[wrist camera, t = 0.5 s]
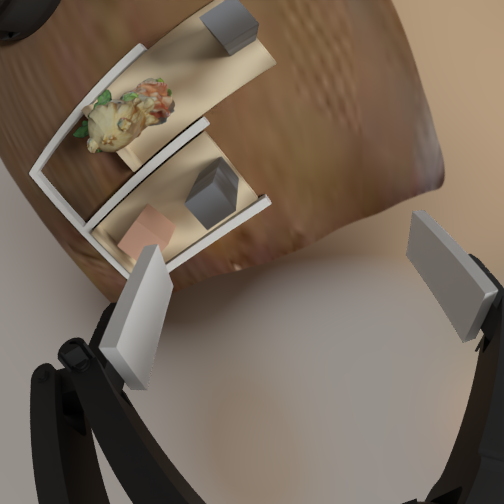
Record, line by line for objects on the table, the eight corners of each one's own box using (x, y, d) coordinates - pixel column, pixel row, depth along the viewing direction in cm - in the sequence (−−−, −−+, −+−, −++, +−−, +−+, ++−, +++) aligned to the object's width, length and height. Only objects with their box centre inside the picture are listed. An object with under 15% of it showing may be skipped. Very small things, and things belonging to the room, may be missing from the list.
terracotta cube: (129, 227, 40) (116, 246, 35) (148, 203, 38) (136, 219, 34) (156, 248, 42) (147, 268, 37) (176, 225, 40) (168, 244, 35)
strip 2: (95, 227, 40) (62, 268, 31) (205, 130, 34) (188, 149, 24) (144, 275, 45) (123, 324, 36) (257, 196, 39) (261, 237, 29)
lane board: (33, 170, 35) (28, 173, 34) (142, 44, 27) (139, 43, 26) (142, 287, 47) (140, 291, 46) (270, 200, 39) (271, 204, 38)
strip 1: (88, 111, 31) (40, 127, 22) (220, -2, 25) (209, -33, 15) (137, 169, 36) (102, 201, 27) (276, 63, 29) (288, 55, 20)
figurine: (183, 76, 30) (143, 68, 17) (180, 135, 34) (142, 165, 21) (114, 80, 29) (45, 84, 16) (113, 136, 33) (49, 169, 20)
